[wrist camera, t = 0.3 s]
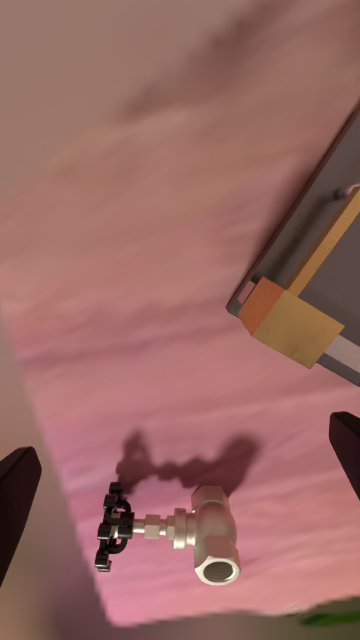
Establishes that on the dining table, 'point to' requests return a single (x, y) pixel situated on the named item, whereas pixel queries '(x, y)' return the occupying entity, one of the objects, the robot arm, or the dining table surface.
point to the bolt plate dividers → (338, 267)
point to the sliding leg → (290, 311)
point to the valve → (177, 532)
